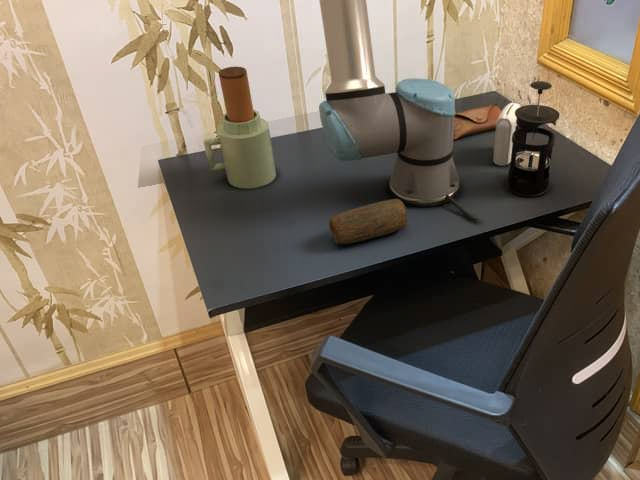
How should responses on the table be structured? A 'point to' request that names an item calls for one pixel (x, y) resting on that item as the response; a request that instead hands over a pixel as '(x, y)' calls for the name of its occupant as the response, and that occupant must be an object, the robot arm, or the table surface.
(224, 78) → the brown cylindrical canister
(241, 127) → the jug
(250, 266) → the table surface
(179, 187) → the table surface
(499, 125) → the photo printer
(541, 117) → the french press
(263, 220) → the table surface
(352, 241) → the brown wooden cylinder
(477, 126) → the sunglasses case
